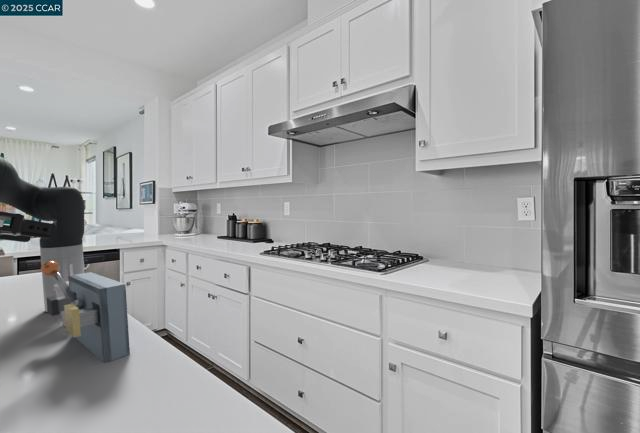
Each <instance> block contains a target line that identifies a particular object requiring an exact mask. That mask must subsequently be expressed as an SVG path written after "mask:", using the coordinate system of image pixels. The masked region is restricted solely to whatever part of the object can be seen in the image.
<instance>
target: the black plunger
mask: <svg viewBox="0 0 640 433" xmlns="http://www.w3.org/2000/svg"><path fill="white" fill-rule="evenodd" d="M69 302H70V301H69V300H68V298H67V297H66V296H63V297H58V298H55V297H53V296H52V297H47V310H48V312H47V313H48V314H49V315H50V316H52V317H54V316H55V317H56V316H59V315H60V312H61V311H65V309H64V305H68V304H69Z"/></svg>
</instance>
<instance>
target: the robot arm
mask: <svg viewBox="0 0 640 433" xmlns="http://www.w3.org/2000/svg"><path fill="white" fill-rule="evenodd" d="M83 198H84V197H83V195H82V194H81V192H80V191H79V189H78V188H75V187H73V186H56V187H54V186H53V187H49V186H48V187H44V186H40V185H39V186H38V185H35V184H33V183H30V182H28V181H25V180H24V179H22V178H21V177H20V175H19V173H18V171H17V169H16V168H15V167H14V165H13V164H12V163H10V162H9V161H8V160H6V159H5V158H4V157H2V156H0V203H2V204H5V205H8V206H10V207H13V208H14V209H15V210H16V209H17V210H19V211H20V212H22V213H25V214H26V215H28V216H31V217H32V218H35V219H36V220H31V219H26V218H25V215H24V214H22V213H12V212H6V211H1V210H0V240H1V241H2V240H3V241H4V240H5V241H9V242H10V241H13V242H19V243H21V242H22V243H28V242H30V241H31V238H38V239H39V250H40V263H41V265H40V266H42V265H43V264H44V263H45V262H48V261H54V262H57V263H58V264H59V267H60V268H59V271H58V272H59V274H60V275H61V277H62V278H63V279H64V281H69V277H68V276H70V265H71V264H72V266H73V275H76V274H82V273H86V272H85V260H84V259H85V258H84V249H83V248H84V246H83V237H84V235H85V203H84V199H83ZM38 220H40V221H38ZM5 221H10V223H9V224H4V222H5ZM49 222H55V224H54V223H49ZM41 276H42V289H43V303H44V312H45V313H48V310H47V297H52V296H53V297H55V298H57V296H56V291H55V290H53V289H54V286H53V285H55V284H56V282H55V281H54V280H53V278H52V277H51V276H48V275H45V274H43V273H42V272H41Z"/></svg>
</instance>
